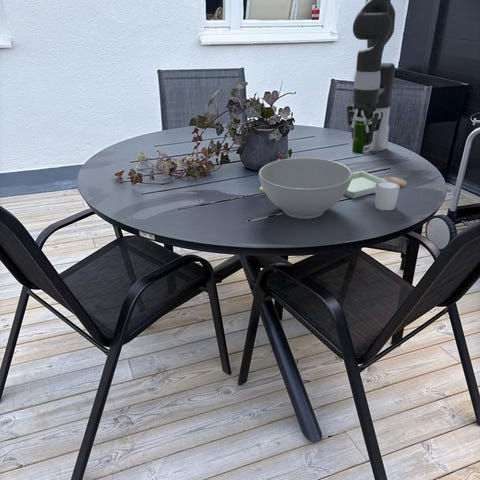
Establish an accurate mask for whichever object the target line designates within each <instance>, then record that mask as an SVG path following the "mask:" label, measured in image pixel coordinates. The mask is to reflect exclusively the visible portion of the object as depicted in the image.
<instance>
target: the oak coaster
mask: <svg viewBox="0 0 480 480" xmlns="http://www.w3.org/2000/svg"><path fill="white" fill-rule="evenodd" d="M381 179H383V180H386V181H388V182H394V183H397V184H398V185H399V186H400V188H399V189H401V188H402V189H403V188H405V187H406V186H407V184H408V182H407V181H406V179H403V178H400V177H394V176H389V177H388V176H387V177H382V178H381Z"/></svg>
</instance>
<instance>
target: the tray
mask: <svg viewBox="0 0 480 480" xmlns="http://www.w3.org/2000/svg"><path fill="white" fill-rule="evenodd" d="M352 174H353V177H352V180H351V183H350V185H349V187H348V189H347V191H346V192H345V194H344V195H345V196H346V197H348V198H351V199H352V200H353V199H357V198H361V197H364V196H367V195H370V194H376V183H378V182H383V181H386V180H383V179H382V178H380V177H378V176H376V175H374V174H371V173H368V172H366V171H365V170H364V171H363V170H358V171H354V172H352ZM344 195H343V196H344Z"/></svg>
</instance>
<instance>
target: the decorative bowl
mask: <svg viewBox="0 0 480 480" xmlns="http://www.w3.org/2000/svg"><path fill="white" fill-rule="evenodd" d="M352 173H353V172H352V170H351V169H350V168H349V166H347V165H344V164H343V163H340V162H337V161H334V160H329V159H324V158H317V157H316V158H315V157H293V158H292V157H290V158H285V159H279V160H275V161H272V162H269V163H267V164H265V165H263V166H262V167H261V168H260V169H259V171H258V179H259V181H260V185H261V187H262V189H263V192H264V193H265V194H266V196H267V197H268V199H269V200H270V201H271V202H272V203H273V204H274V205H275V206H276V207H278V208H279V209H280V210H282V212H283V213H284V214H285V215H286V216H288V217H291V218H294V219H300V220H305V219H306V220H308V219H315V218H319V217H321V216H322V215H323V214H324V213H325V212H326V211H328V210H329V209H331V208H333V207H334V206H335V205H336V204H338V203H339V202H340V200H341V199H342V198H343V197H344V194H345V192H346V191H347V189H348V187H349V185H350V183H351V180H352V177H353V174H352Z"/></svg>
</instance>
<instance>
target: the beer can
mask: <svg viewBox="0 0 480 480" xmlns="http://www.w3.org/2000/svg"><path fill="white" fill-rule="evenodd" d="M371 121H372V119H369V120H367V122H371ZM365 127H366V126H365V125H364V118H362V117H361V116H356V118H355V121H354V132H353V140H352V146H351V153H352V154H353V155H355V156H357V157H359V156H360V157H364V156H368V155H369V152H370V151H369V148H370V144H365V134H366V128H365ZM370 127H371V124H369V128H370Z"/></svg>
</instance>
